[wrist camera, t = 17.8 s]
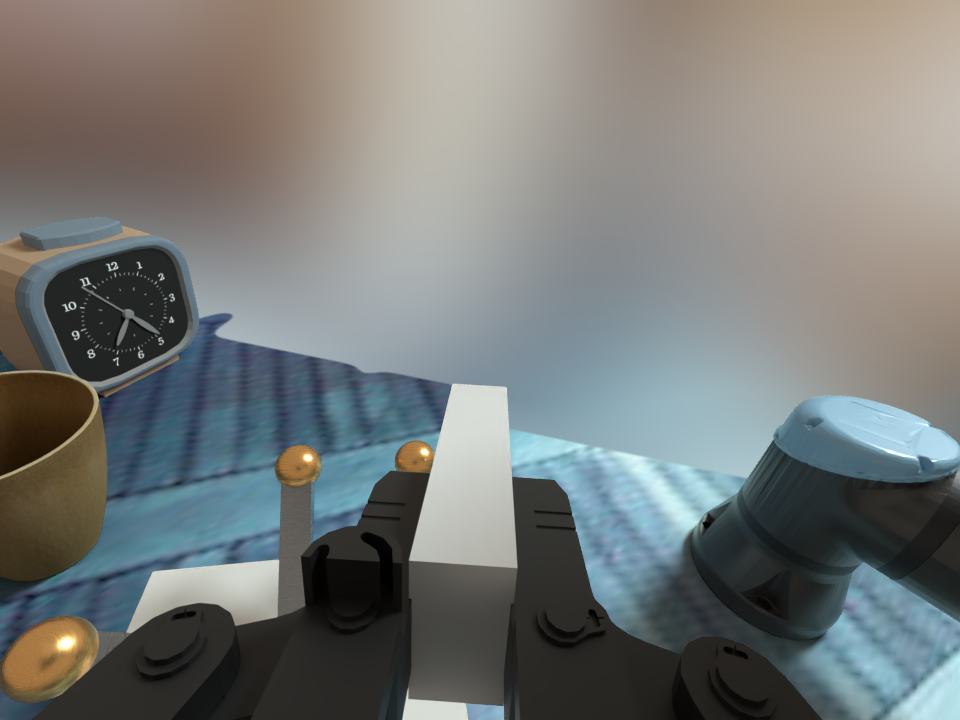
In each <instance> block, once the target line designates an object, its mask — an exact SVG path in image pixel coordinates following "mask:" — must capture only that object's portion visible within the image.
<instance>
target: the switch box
mask: <svg viewBox="0 0 960 720" xmlns="http://www.w3.org/2000/svg"><path fill="white" fill-rule="evenodd" d="M278 581H279V560H270V561H260V562H249V563H238V564H228V565H217V566H207V567H196V568H185V569H175V570H164V571H153V572H152V575H151V577H150V579H149V582H148V584H147V586H146V588H145V591H144V593H143V595H142V598H141V600H140V602H139V605H138V607H137V609H136V611H135V614H134V616H133V618H132V621H131V623H130V625H129V627H128V630H127V632H126V633H132V632H134V631H135V630H137V629H138V628H139V627H141V626H142V625H144V624H145V623H147V622H148V621H149V620H151V619H152V618H154V617H156V616H158V615H160V614H163V613H165V612H167V611H169V610H172V609H174V608H176V607H180V606H185V605H190V604H195V603H208V604H217V605H219V606H221V607H223V608H224V609H226V610H227V611H229V612H230V613H231V615H232V617H233V620H234V623H235V626H238V625H243V624H247V623H252V622H257V621H261V620H266V619H271V618H276V617H277V615H278ZM402 720H468V716H467V709H466V703H456V702H443V701H429V700H416V699H408V690H407V696H406V701H405V707H404V712H403V718H402Z"/></svg>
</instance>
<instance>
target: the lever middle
mask: <svg viewBox="0 0 960 720" xmlns="http://www.w3.org/2000/svg"><path fill="white" fill-rule="evenodd" d="M321 470H322V461H321V457H320V455H319V454H318V453H317V451H316V450H314V449H313V448H311V447H309V446H306V445H295V446H292V447H289V448H287V449H286V450H284V451H283V452H282V453H281V454H280V456H279V457H278V459H277V461H276V464H275V475H276V478H277V479H278V481H279V482H280V483H281V512H280V546H279V581H278V615H277V617H279V616H282V615H286V614H289V613H292V612H294V611H296V610H298V609H300V608H302V607H304V606H305V597H304V586H303V575H302V565H301V555H302V554H303V553H304V552H305V551H306V549H307V548H308V547H309V546H310V545H311V544H312V543H313V533H314V485H315V481H316V480H317V479H318V477H319V476H320V473H321Z"/></svg>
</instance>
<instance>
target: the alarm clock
mask: <svg viewBox="0 0 960 720" xmlns="http://www.w3.org/2000/svg"><path fill="white" fill-rule="evenodd" d="M20 236H21V237H18V238H14V239H12V240H9V241H6V242H3V243H0V350H1V352H2V353H3V355H4V356H5V358H6V359H7V360H8V361H9V362H10V363H11V364H12V365H13V366H15V367H16V368H17V369H19V370H21V371H26V370H39V371H53V372H60V373H65V374H69V375H73V376H76V377H78V378H81V379H83V380H85V381H86V382H88V383H89V384H90V385H91V386H92V387H93V388H94V389H95V391H96V393H97V394H99V395H101V396H104V397H107V396H109V395H111V394H113V393H115V392H117V391H119V390H120V389H122V388H124V387H126V386H128V385H130V384H132V383H134V382H136V381H138V380H140V379H142V378H144V377H146V376H148V375H150V374H152V373H154V372H156V371H158V370H159V369H161V368H163V367H165V366H167V365H169V364H171V363H173V362H175V361H177V360H179V355H178V354H179V353H181V352H182V351H183V350H185V349H186V348H188V347H189V346H190V344H191V343H192V341H193V340H194V339H195V337H196V334H197V331H198V327H199V316H198V315H199V314H198V308H197V304H196V299H195V295H194V290H193V286H192V282H191V277H190V273H189V268H188V265H187V262H186V259H185V257H184V255H183V254H182V252H181V250H180V249H179V248H178V247H177V246H176V245H175V244H173V243H172V242H171V241H169V240H166V239H164V238H161V237H158V236H155V235H151V234H148V233H145V232H141V231H138V230H135V229H131V228H128V227H124V226H121V223H120V222H119V221H116V220H113V219H109V218H106V217H103V216H100V217H92V218H82V219H75V220H69V221H62V222H57V223H52V224H47V225H43V226H39V227H35V228H32V229H28V230H25V231H21V233H20Z"/></svg>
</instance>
